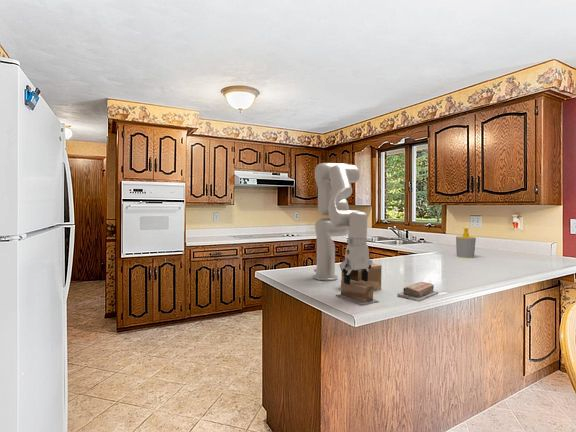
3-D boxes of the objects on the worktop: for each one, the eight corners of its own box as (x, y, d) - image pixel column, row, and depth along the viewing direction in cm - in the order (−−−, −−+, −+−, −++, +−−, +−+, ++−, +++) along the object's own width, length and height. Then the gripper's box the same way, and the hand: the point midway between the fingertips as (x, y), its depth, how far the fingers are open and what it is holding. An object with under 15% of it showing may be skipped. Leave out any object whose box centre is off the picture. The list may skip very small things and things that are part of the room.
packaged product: (417, 279, 160) (438, 283, 153) (416, 290, 161) (438, 294, 154) (397, 286, 148) (419, 290, 141) (396, 297, 148) (419, 302, 141)
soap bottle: (477, 256, 257) (478, 228, 256) (472, 258, 248) (473, 229, 247) (458, 254, 266) (459, 227, 265) (452, 256, 257) (453, 228, 256)
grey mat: (336, 295, 149) (336, 294, 149) (351, 292, 154) (351, 292, 154) (362, 305, 135) (362, 304, 135) (378, 302, 140) (378, 301, 140)
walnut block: (363, 302, 137) (363, 287, 137) (340, 294, 149) (341, 280, 149) (372, 300, 140) (373, 286, 140) (349, 292, 152) (349, 279, 152)
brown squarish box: (341, 287, 164) (341, 263, 163) (362, 283, 170) (362, 261, 170) (359, 293, 153) (360, 268, 152) (381, 289, 160) (381, 265, 159)
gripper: (347, 244, 136) (345, 287, 137) (379, 241, 145) (377, 281, 146) (335, 241, 142) (333, 282, 144) (366, 239, 151) (364, 277, 153)
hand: (355, 282), depth 145 cm, fingers open, 9 cm apart
